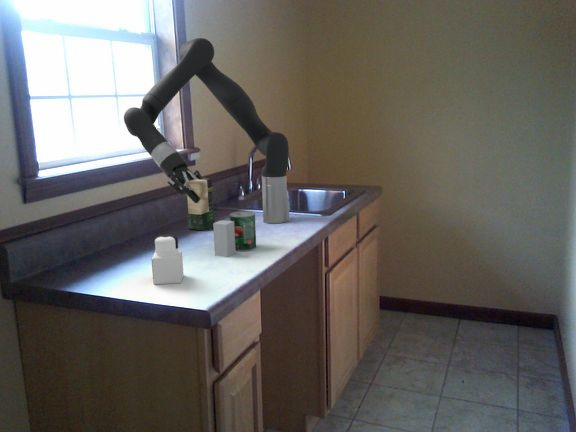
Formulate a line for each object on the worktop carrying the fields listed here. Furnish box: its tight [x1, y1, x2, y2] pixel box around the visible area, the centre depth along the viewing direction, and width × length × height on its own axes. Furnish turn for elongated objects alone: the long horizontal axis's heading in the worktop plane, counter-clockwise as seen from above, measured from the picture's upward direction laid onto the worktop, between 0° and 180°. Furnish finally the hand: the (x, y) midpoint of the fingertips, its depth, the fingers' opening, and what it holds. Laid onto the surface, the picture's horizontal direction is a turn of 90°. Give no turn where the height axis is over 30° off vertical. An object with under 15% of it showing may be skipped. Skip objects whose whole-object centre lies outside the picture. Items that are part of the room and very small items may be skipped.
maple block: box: [186, 179, 209, 215], centre depth 179 cm, size 4×4×10 cm
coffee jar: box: [186, 177, 216, 231], centre depth 208 cm, size 10×8×19 cm
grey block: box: [212, 219, 237, 258], centre depth 175 cm, size 4×4×10 cm
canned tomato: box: [229, 210, 257, 252], centre depth 182 cm, size 8×8×11 cm
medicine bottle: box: [151, 233, 184, 285], centre depth 152 cm, size 7×7×12 cm
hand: (203, 199), depth 179 cm, fingers closed on maple block, 4 cm apart
